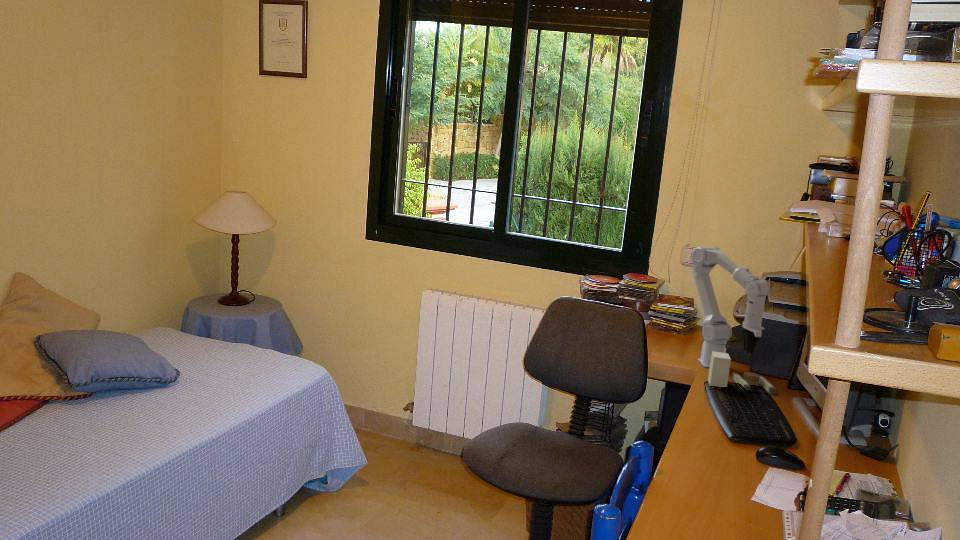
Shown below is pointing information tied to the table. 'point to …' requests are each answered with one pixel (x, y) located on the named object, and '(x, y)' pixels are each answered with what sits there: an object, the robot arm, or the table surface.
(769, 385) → the rail track
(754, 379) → the walnut block
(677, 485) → the table surface
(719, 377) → the small box
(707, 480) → the table surface
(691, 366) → the table surface
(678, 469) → the table surface
